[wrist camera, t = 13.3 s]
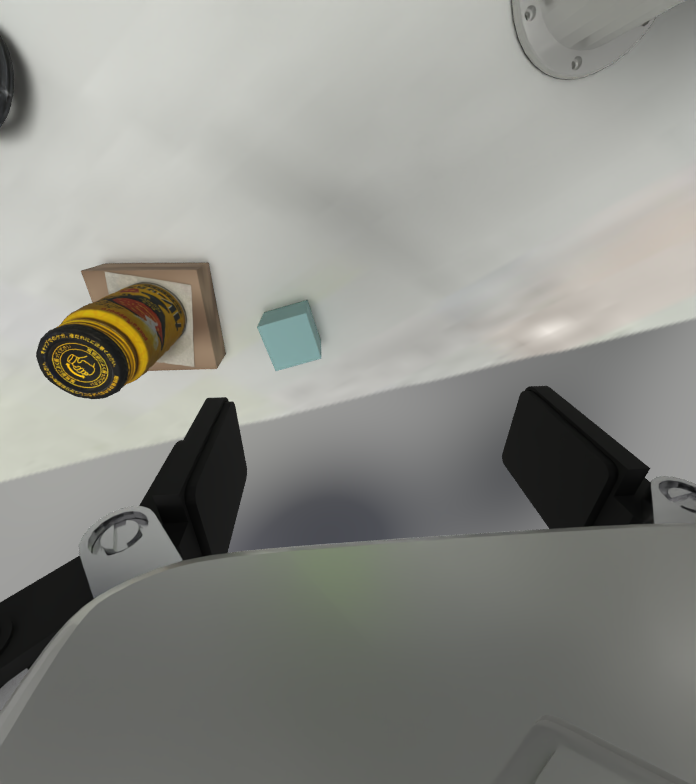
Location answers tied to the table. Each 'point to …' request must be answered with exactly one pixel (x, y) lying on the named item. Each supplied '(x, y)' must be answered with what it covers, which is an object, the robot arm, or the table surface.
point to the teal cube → (290, 335)
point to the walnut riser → (203, 304)
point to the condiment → (119, 336)
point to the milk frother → (5, 82)
